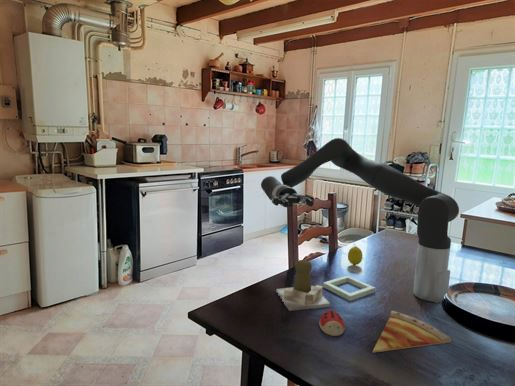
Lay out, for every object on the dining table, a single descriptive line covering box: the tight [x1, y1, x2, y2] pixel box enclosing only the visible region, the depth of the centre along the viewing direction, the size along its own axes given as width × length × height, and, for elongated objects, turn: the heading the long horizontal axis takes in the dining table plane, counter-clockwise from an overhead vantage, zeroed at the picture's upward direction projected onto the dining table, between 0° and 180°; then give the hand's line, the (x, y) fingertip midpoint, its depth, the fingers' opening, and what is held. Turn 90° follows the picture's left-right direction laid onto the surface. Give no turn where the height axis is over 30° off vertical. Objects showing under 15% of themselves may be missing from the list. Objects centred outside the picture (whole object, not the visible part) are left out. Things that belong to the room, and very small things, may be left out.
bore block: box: [322, 275, 376, 302], centre depth 121 cm, size 12×12×2 cm
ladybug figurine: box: [318, 309, 346, 337], centre depth 97 cm, size 7×10×4 cm
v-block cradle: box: [275, 284, 331, 312], centre depth 113 cm, size 13×13×4 cm
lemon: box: [347, 245, 363, 266], centre depth 142 cm, size 6×6×8 cm
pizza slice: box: [372, 310, 452, 353], centre depth 96 cm, size 16×22×2 cm
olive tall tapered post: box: [293, 259, 313, 293], centre depth 113 cm, size 6×6×11 cm
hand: (299, 204), depth 121 cm, fingers open, 8 cm apart
